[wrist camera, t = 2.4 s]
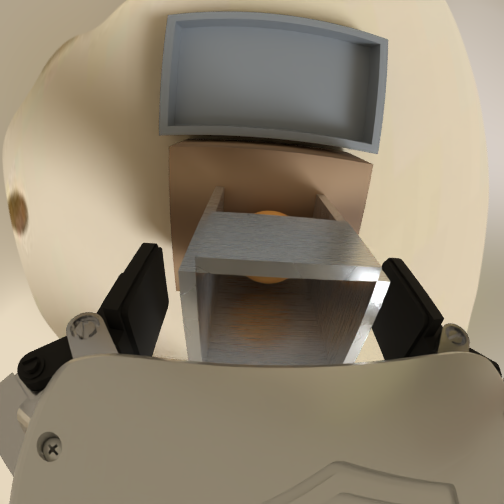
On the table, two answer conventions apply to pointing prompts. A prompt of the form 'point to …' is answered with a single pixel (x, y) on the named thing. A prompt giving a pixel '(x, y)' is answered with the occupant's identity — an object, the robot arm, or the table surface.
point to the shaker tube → (278, 288)
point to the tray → (272, 79)
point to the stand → (260, 182)
